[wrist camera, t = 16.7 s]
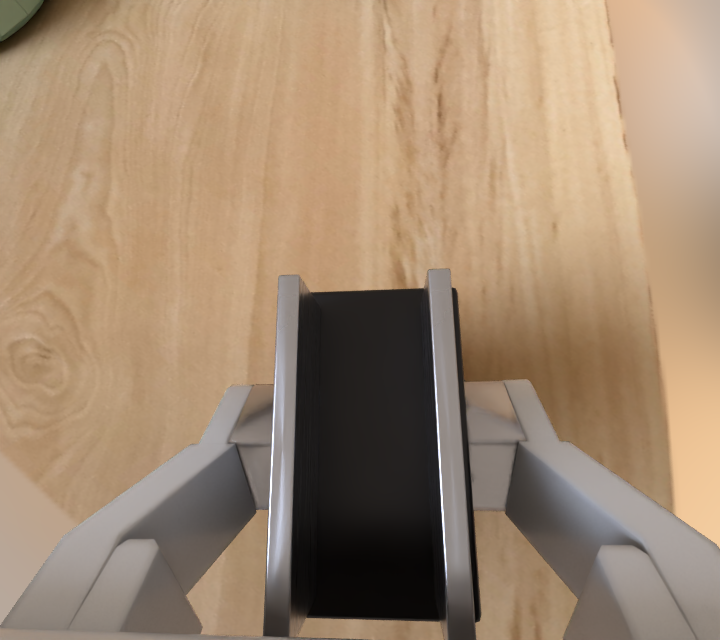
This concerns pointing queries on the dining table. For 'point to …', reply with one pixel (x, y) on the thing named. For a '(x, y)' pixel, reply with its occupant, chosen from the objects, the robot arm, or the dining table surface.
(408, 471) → the clip
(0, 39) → the green bowl
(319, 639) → the robot arm
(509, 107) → the dining table surface
